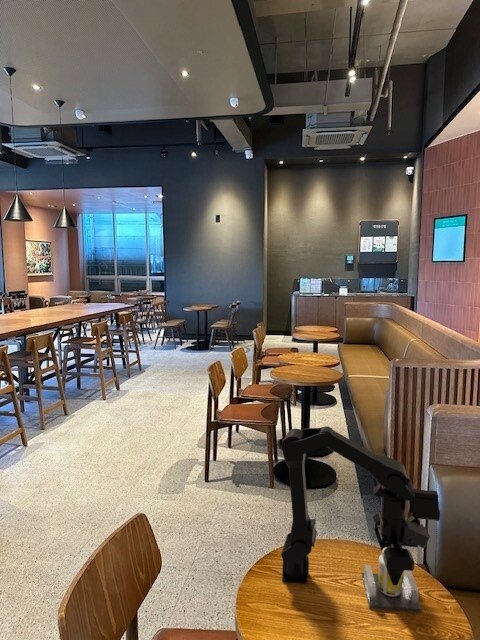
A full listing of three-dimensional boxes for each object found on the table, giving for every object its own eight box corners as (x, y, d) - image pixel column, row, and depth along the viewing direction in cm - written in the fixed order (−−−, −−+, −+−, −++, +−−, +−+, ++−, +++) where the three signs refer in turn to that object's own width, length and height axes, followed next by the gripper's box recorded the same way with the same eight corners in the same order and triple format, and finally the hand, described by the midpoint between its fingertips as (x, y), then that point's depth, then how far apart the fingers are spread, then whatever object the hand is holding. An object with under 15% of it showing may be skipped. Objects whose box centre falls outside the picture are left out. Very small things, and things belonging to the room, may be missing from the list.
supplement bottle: (405, 590, 108) (406, 552, 107) (393, 601, 104) (394, 562, 103) (385, 578, 112) (386, 541, 111) (373, 588, 108) (374, 551, 107)
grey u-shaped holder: (421, 612, 102) (421, 595, 101) (369, 608, 103) (369, 591, 103) (408, 580, 113) (409, 564, 112) (362, 576, 114) (362, 560, 114)
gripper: (439, 538, 95) (436, 602, 97) (416, 495, 114) (413, 550, 116) (388, 535, 97) (385, 598, 99) (373, 493, 115) (371, 547, 117)
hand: (390, 571), depth 107 cm, fingers open, 9 cm apart
